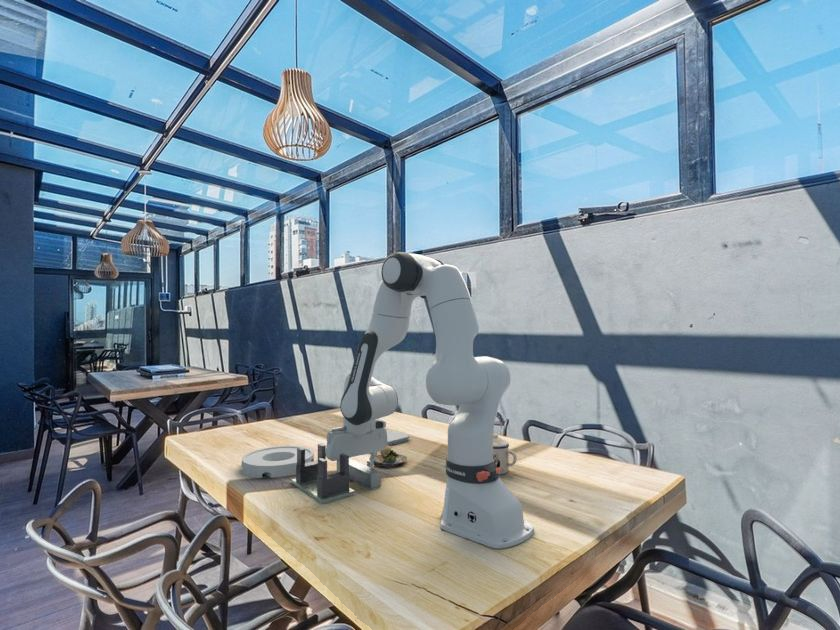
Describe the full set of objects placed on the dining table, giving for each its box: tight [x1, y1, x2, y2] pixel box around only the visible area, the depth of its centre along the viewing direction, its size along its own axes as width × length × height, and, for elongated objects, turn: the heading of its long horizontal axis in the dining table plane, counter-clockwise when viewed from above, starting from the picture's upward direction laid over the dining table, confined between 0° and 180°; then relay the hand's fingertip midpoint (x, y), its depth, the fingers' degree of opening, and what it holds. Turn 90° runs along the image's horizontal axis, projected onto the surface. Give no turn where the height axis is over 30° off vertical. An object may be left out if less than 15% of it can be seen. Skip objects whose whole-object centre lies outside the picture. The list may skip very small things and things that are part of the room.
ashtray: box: [241, 445, 315, 479], centre depth 144 cm, size 23×23×4 cm
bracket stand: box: [290, 443, 356, 504], centre depth 124 cm, size 20×10×10 cm, turn 39°
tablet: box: [386, 429, 411, 446], centre depth 173 cm, size 16×26×2 cm, turn 136°
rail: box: [336, 457, 382, 491], centre depth 131 cm, size 20×4×4 cm, turn 40°
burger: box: [373, 445, 408, 469], centre depth 147 cm, size 12×12×8 cm
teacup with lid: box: [493, 433, 517, 475], centre depth 138 cm, size 12×9×12 cm
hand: (357, 469), depth 131 cm, fingers open, 8 cm apart
